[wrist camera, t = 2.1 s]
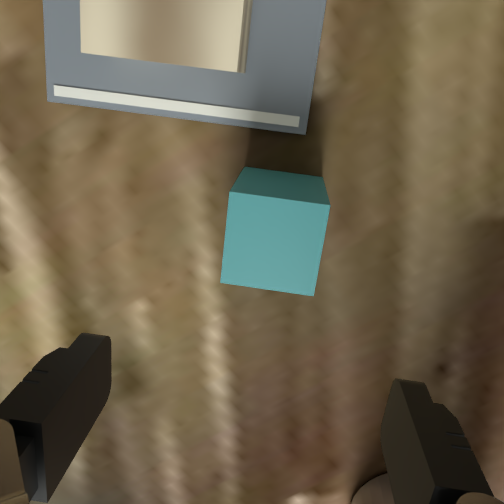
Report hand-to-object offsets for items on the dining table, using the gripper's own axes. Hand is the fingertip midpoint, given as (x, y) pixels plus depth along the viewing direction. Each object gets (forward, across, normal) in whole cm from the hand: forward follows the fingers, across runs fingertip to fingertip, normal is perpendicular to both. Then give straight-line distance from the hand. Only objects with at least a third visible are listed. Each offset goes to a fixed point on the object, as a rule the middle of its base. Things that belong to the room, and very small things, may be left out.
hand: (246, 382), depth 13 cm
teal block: (+18, 0, 0) cm, 18 cm away
